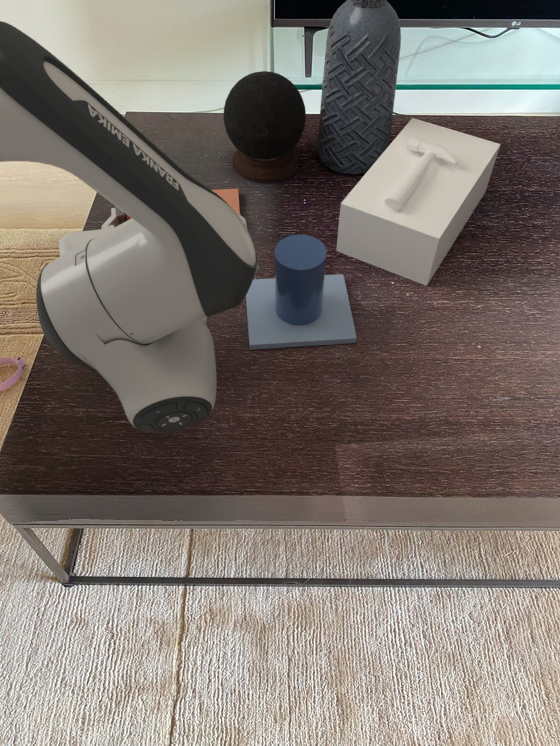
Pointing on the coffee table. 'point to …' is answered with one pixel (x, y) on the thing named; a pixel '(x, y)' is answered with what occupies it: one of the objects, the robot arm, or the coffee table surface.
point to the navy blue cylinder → (299, 279)
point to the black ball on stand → (264, 126)
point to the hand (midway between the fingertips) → (152, 208)
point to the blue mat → (279, 334)
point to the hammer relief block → (416, 200)
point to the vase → (358, 85)
